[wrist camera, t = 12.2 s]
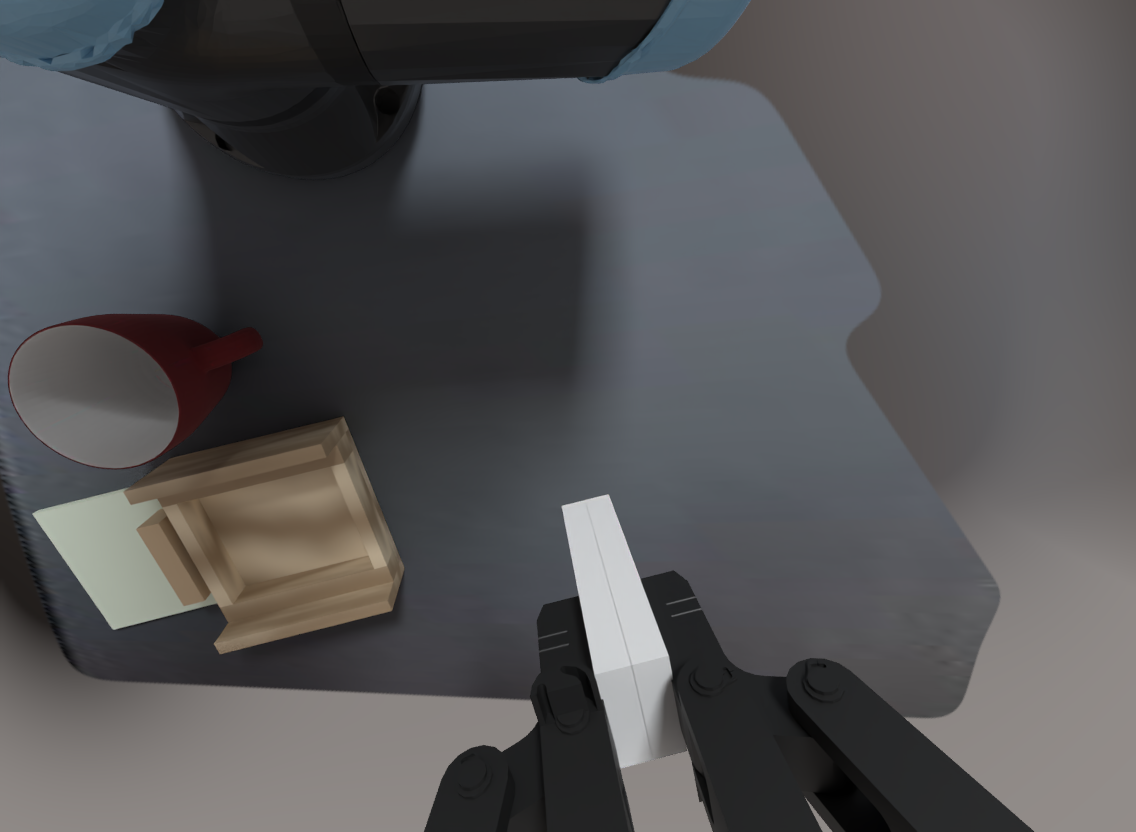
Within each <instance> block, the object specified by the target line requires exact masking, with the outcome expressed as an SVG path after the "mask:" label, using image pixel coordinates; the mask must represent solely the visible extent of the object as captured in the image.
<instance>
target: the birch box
mask: <svg viewBox="0 0 1136 832" xmlns="http://www.w3.org/2000/svg"><path fill="white" fill-rule="evenodd" d="M123 493H124V494H125V496H126V498H127V499H128V501H129V503H130V504H131V505H133V504H137V503H141V502H145V501H150V500H154V499H158V501H159V503H160V504H161V506H162V508H163V510H164V511H165V513H166V515H167V517H168V518H169V520H170V522H171V523H172V525H173V527H174V529H175V530H176V532H177V534H178V536H179V537H180V539H181V541H182V543H183V544H184V546H185V548H186V550H187V551H188V553H189V555H190V557H191V558H192V560H193V562H194V564H195V565H196V567H197V569H198V571H199V572H200V574H201V576H202V578H203V579H204V581H205V583H206V584H207V586H208V588H209V590H210V591H211V593H212V595H213V597H214V598H215V600H216V602H217V604H218V605H219V607H220V609H221V611H222V612H223V614H224V616H225V618H226V619H227V621H228V624H227V626H226V627H225V629H224V630H223V632H222V633H221V634H220V636H219V637H218V639H217V640H216V642H215V643H214V645H215V647H216V648H217V650H218V652H219V653H220V654H223V653H227V652H231V651H235V650H239V649H243V648H247V647H251V646H255V645H259V644H263V643H267V642H270V641H274V640H278V639H282V638H286V637H290V636H294V635H298V634H302V633H306V632H310V631H314V630H318V629H322V628H326V627H330V626H334V625H338V624H342V623H346V622H350V621H354V620H358V619H362V618H366V617H370V616H374V615H378V614H382V613H386V612H390V611H392V610H393V606H394V603H395V599H396V596H397V592H398V589H399V586H400V582H401V579H402V575H403V572H404V569H405V568H404V566H403V563H402V561H401V558H400V556H399V553H398V551H397V548H396V546H395V543H394V541H393V538H392V536H391V533H390V531H389V528H388V526H387V523H386V521H385V518H384V516H383V513H382V511H381V508H380V506H379V503H378V501H377V498H376V496H375V493H374V491H373V488H372V486H371V483H370V481H369V478H368V476H367V473H366V471H365V468H364V466H363V463H362V461H361V458H360V456H359V453H358V451H357V448H356V446H355V443H354V441H353V438H352V436H351V433H350V431H349V428H348V426H347V423H346V421H345V418H344V416H343V417H339V418H335V419H331V420H327V421H323V422H318V423H314V424H310V425H306V426H302V427H298V428H294V429H289V430H285V431H281V432H277V433H273V434H269V435H265V436H260V437H256V438H252V439H248V440H244V441H240V442H236V443H232V444H227V445H223V446H219V447H215V448H211V449H207V450H203V451H198V452H194V453H190V454H186V455H182V456H178V457H174V458H170V459H169V460H167V461H166V462H164V463H163V464H162V465H160V466H159V467H157V468H156V469H155V470H153V471H152V472H150V473H149V474H148V475H146V476H145V477H143V478H142V479H140V480H139V481H138V482H136V483H135V484H133V485H132V486H131V487H129V488H128V489H126V490H125V491H124V492H123Z"/></svg>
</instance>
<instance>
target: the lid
mask: <svg viewBox="0 0 1136 832" xmlns="http://www.w3.org/2000/svg"><path fill="white" fill-rule="evenodd" d="M126 489H128V488H125V489H121V490H117V491H113V492H109V493H105V494H101V495H97V496H93V497H89V498H85V499H81V500H77V501H73V502H69V503H65V504H61V505H57V506H53V507H50V508H46V509H42V510H38V511H36V512H35V513H33V515H34V517H35V518H36V520H37V521H38V523H39V524H40V526H41V527H42V528H43V530H44V531H45V533H46V534H47V536H48V537H49V538H50V540H51V541H52V543H53V544H54V546H55V547H56V548H57V550H58V551H59V553H60V554H61V556H62V557H63V559H64V560H65V561H66V563H67V564H68V566H69V567H70V569H71V570H72V571H73V573H74V574H75V576H76V577H77V579H78V580H79V581H80V583H81V584H82V586H83V587H84V589H85V590H86V592H87V593H88V594H89V596H90V597H91V599H92V600H93V602H94V603H95V604H96V606H97V607H98V609H99V610H100V612H101V613H102V614H103V616H104V617H105V619H106V620H107V622H108V623H109V625H110V626H111V627H112V629H113V630H115V629H119V628H123V627H126V626H130V625H134V624H138V623H142V622H146V621H150V620H154V619H158V618H162V617H166V616H169V615H173V614H177V613H181V612H185V611H189V610H193V609H197V608H201V607H205V606H209V605H212V604H216V603H217V602H216V600H215V598H214V597H213V595H212V593H211V591H210V590H209V588H208V586H207V584H206V583H205V581H204V579H203V578H202V576H201V574H200V572H199V571H198V569H197V567H196V565H195V564H194V562H193V560H192V558H191V557H190V555H189V553H188V551H187V550H186V548H185V546H184V544H183V543H182V541H181V539H180V537H179V536H178V534H177V532H176V530H175V529H174V527H173V525H172V523H171V522H170V520H169V518H168V517H167V515H166V513H165V511H164V510H163V508H162V506H161V504H160V503H159V501H158V499H154V500H150V501H145V502H141V503H137V504H133V505H131V504H130V503H129V501H128V499H127V498H126V496H125V494H124V493H123V492H124V491H125V490H126Z"/></svg>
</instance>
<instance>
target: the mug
mask: <svg viewBox="0 0 1136 832" xmlns="http://www.w3.org/2000/svg"><path fill="white" fill-rule="evenodd" d="M262 346H263V340H262V338H261V335H260V334H259V333H258V331H257V330H256V329H254V328H252V327H246V328H244V329H241V330H239V331H236V332H234V333H232V334H230V335H227V336H224V337H222V338H220V337H218V336H217V335H216V334H215V333H214V332H212V331H211V330H210V329H208V328H207V327H205V326H203V325H201V324H200V323H197V322H195V321H193V320H190V319H187V318H184V317H180V316H175V315H166V314H105V315H96V316H89V317H84V318H80V319H76V320H71V321H68V322H64V323H60V324H57V325H53V326H50V327H47V328H44V329H42V330H40V331H38V332H36V333H34V334H33V335H31V336H30V337H28V338H27V339H26V340H25V341H24V342H23V343H22V344H21V345H20V346H19V347H18V349H17V350H16V352H15V353H14V355H13V357H12V360H11V362H10V366H9V371H8V388H9V393H10V397H11V400H12V403H13V406H14V408H15V410H16V412H17V414H18V415H19V417H20V419H21V420H22V421H23V423H24V424H25V426H26V427H27V428H28V429H29V430H30V431H31V433H32V434H33V435H34V436H35V437H36V438H37V439H39V440H40V441H41V442H42V443H43V444H45V445H46V446H47V447H49V448H50V449H52V450H53V451H55V452H56V453H58V454H60V455H62V456H64V457H65V458H68V459H70V460H72V461H75V462H77V463H80V464H83V465H87V466H91V467H96V468H102V469H127V468H133V467H137V466H140V465H144V464H146V463H148V462H151V461H153V460H154V459H156V458H158V457H160V456H161V455H163V454H164V453H166V452H168V451H169V450H171V449H172V448H174V447H175V446H177V445H178V444H180V443H181V442H182V441H184V440H185V439H186V438H187V437H189V436H190V435H191V434H192V433H193V432H194V431H195V430H196V429H197V428H198V427H199V425H200V424H201V423H202V422H203V421H204V419H205V418H206V417H207V416H208V415H209V413H210V412H211V411H212V410H213V408H214V407H215V406H216V405H217V404H218V402H219V401H220V400H221V399H222V397H223V396H224V394H225V393H226V391H227V389H228V387H229V384H230V380H231V374H232V364H231V362H234V361H236V360H239V359H241V358H243V357H246V356H248V355H250V354H252V353H254V352H256V351H258V350H260V349H261V348H262Z"/></svg>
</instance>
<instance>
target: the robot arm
mask: <svg viewBox="0 0 1136 832" xmlns="http://www.w3.org/2000/svg"><path fill="white" fill-rule="evenodd" d="M750 1H751V0H0V57H2V58H6V59H8V60H9V61H11V62H13V63H16V64H19V65H24V66H37V67H40V68H43V69H45V70H50V71H57V72H61V73H64V74H67V75H70V76H73V77H76V78H79V79H82V80H85V81H88V82H92V83H95V84H98V85H101V86H104V87H107V88H110V89H113V90H116V91H119V92H123V93H126V94H129V95H132V96H135V97H138V98H141V99H144V100H147V101H150V102H154V103H157V104H160V105H163V106H166V107H169V108H172V109H174V110H175V111H176V112H177V113H178V114H179V115H180V117H181V118H182V119H183V120H184V121H185V122H186V123H187V124H188V125H189V126H190V127H191V128H192V129H194V130H195V131H196V132H197V133H198V134H199V135H200V136H201V137H203V138H204V139H205V140H207V141H208V142H209V143H210V144H212V145H213V146H215V147H216V148H218V149H219V150H221V151H222V152H224V153H226V154H227V155H229V156H231V157H232V158H234V159H236V160H238V161H240V162H242V163H244V164H246V165H249V166H251V167H253V168H256V169H259V170H262V171H265V172H269V173H272V174H277V175H282V176H287V177H292V178H298V179H309V180H319V179H330V178H336V177H341V176H344V175H348V174H351V173H353V172H356V171H358V170H360V169H362V168H364V167H366V166H368V165H370V164H371V163H373V162H374V161H376V160H377V159H379V158H380V157H381V156H382V155H383V154H385V153H386V152H387V151H388V150H389V149H390V148H391V147H392V146H393V144H394V143H395V142H396V141H397V140H398V138H399V137H400V136H401V134H402V133H403V131H404V130H405V128H406V126H407V125H408V123H409V121H410V119H411V117H412V115H413V112H414V110H415V107H416V104H417V101H418V98H419V94H420V90H421V85H422V84H436V83H460V82H484V81H508V80H532V79H556V78H578V79H579V80H580V81H582V82H585V83H592V84H599V83H604V82H605V81H607V80H614V79H616V78H618V77H619V76H621V75H628V74H639V73H650V72H661V71H669V70H674V69H677V68H680V67H681V66H684V65H686V64H688V63H690V62H692V61H695V60H697V59H698V58H699V57H700V56H702V55H704V54H705V53H707V52H708V51H709V50H710V49H712V48H713V47H714V46H715V45H716V44H717V43H718V42H719V41H720V40H721V39H722V38H723V37H724V36H725V35H726V33H727V32H728V31H729V30H730V29H731V27H732V26H733V25H734V24H735V22H736V21H737V19H738V18H739V17H740V15H741V14H742V13H743V11H744V10H745V8H746V7H747V5H748V4H749V2H750ZM562 510H563V515H564V521H565V526H566V531H567V536H568V541H569V546H570V551H571V557H572V562H573V567H574V572H575V577H576V582H577V588H578V593H579V596H577V597H573V598H569V599H565V600H561V601H557V602H553V603H549V604H545V605H543V607H542V610H541V612H540V614H539V617H538V619H537V629H538V639H539V640H538V642H539V652H540V653H539V655H540V668H541V673H540V674H539V675H538V677H537V678H536V680H535V682H534V683H533V685H532V689H531V695H530V698H531V701H532V704H533V707H534V710H535V713H536V716H537V719H538V722H537V724H536V726H535V727H534V728H533V730H532V731H531V732H530V733H529V734H528V735H527V736H526V737H524V738H523V739H522V740H520V741H519V742H517V743H516V744H514V745H513V746H511V747H509V748H508V749H506V750H504V751H503V752H501V751H499V750H498V749H497V748H495V747H491V746H486V745H482V746H478V747H473V748H470V749H469V750H467V751H465V752H463V753H462V754H460V755H459V756H458V757H457V758H456V759H455V760H454V761H453V762H452V763H451V764H450V765H449V766H448V768H447V770H446V772H445V774H444V776H443V778H442V780H441V783H440V786H439V789H438V792H437V795H436V798H435V801H434V804H433V807H432V810H431V813H430V816H429V818H428V821H427V825H426V827H425V830H424V832H634V827H633V822H632V818H631V813H630V808H629V804H628V799H627V795H626V791H625V787H624V784H623V779H622V775H621V770H620V768H624V767H628V766H632V765H635V764H639V763H643V762H646V761H651V760H654V759H658V758H662V757H666V756H670V755H673V754H677V753H681V752H685V751H687V749H688V751H689V754H690V757H691V760H692V766H693V771H694V776H695V781H696V787H697V791H698V797H699V802H701V801H703V804H704V806H705V810H706V813H707V816H708V819H709V822H710V825H711V827H712V831H713V832H822V830H821V828H820V826H819V824H818V822H817V820H816V818H815V816H814V815H813V813H812V811H811V809H810V807H809V805H808V803H807V801H806V799H807V800H808V801H809V802H810V804H811V805H812V806H813V808H814V809H815V810H816V811H817V813H818V814H819V815H820V816H821V818H822V819H823V820H824V821H825V823H826V824H827V825H828V827H829V828H830V829H831V830H832V832H1034V831H1033V830H1032V829H1031V828H1030V827H1028V826H1027V825H1026V824H1025V823H1024V822H1022V820H1020V819H1019V818H1018V817H1017V816H1016V815H1015V814H1013V813H1012V812H1011V811H1010V810H1009V809H1008V808H1007V807H1006V806H1004V805H1003V804H1002V803H1001V802H1000V801H999V800H997V799H996V798H995V797H994V796H993V795H992V794H991V793H989V792H988V791H987V790H986V789H985V788H983V786H982V785H980V784H979V783H978V782H977V781H976V780H975V779H974V778H972V777H971V776H970V775H969V774H968V773H967V772H965V771H964V770H963V769H962V768H961V767H960V766H959V765H957V764H956V763H955V762H954V761H953V760H952V759H951V758H949V757H948V756H947V755H946V754H945V753H944V752H943V751H941V750H940V749H939V748H938V747H937V746H936V745H934V744H933V743H932V742H931V741H930V740H929V739H928V738H927V737H925V736H924V735H923V734H922V733H921V732H920V731H919V730H917V729H916V728H915V727H914V726H913V725H912V724H910V723H909V722H908V721H907V720H906V719H905V718H904V717H903V716H901V715H900V714H899V713H898V712H897V711H896V710H895V709H893V708H892V707H891V706H890V705H889V704H888V703H887V702H885V701H884V700H883V699H882V698H881V697H880V696H879V695H877V694H876V693H875V692H874V691H873V690H872V689H871V688H869V687H868V686H867V685H866V684H865V683H864V682H863V681H861V680H860V679H859V678H858V677H857V676H856V675H855V674H853V673H852V672H851V671H850V670H848V669H847V668H845V667H843V666H842V665H840V664H839V663H836V662H833V661H830V660H827V659H816V658H810V659H806V660H803V661H800V662H797V663H796V664H795V665H794V666H793V667H791V668H790V669H789V672H788V675H787V677H774V676H760V675H754V674H751V673H748V672H745V671H743V670H741V669H739V668H738V667H736V666H735V665H733V664H732V663H731V662H730V661H729V660H728V659H727V657H726V656H725V654H724V653H723V651H722V649H721V647H720V645H719V643H718V641H717V639H716V637H715V635H714V633H713V631H712V629H711V627H710V625H709V623H708V621H707V619H706V617H705V615H704V613H703V611H702V610H701V607H700V605H699V603H698V601H697V599H696V598H695V595H694V593H693V591H692V589H691V587H690V585H689V583H688V581H687V580H685V579H684V578H683V577H682V576H680V575H679V574H678V573H676V572H675V571H670V572H666V573H662V574H658V575H654V576H650V577H646V578H642V579H640V577H639V575H638V572H637V569H636V567H635V564H634V561H633V559H632V556H631V553H630V551H629V548H628V545H627V543H626V540H625V537H624V534H623V532H622V529H621V526H620V524H619V521H618V518H617V516H616V513H615V510H614V508H613V505H612V502H611V500H610V497H609V494H608V495H604V496H600V497H596V498H592V499H588V500H584V501H580V502H576V503H572V504H568V505H563V506H562ZM686 746H687V748H686ZM804 796H805V797H804ZM805 798H806V799H805Z"/></svg>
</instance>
